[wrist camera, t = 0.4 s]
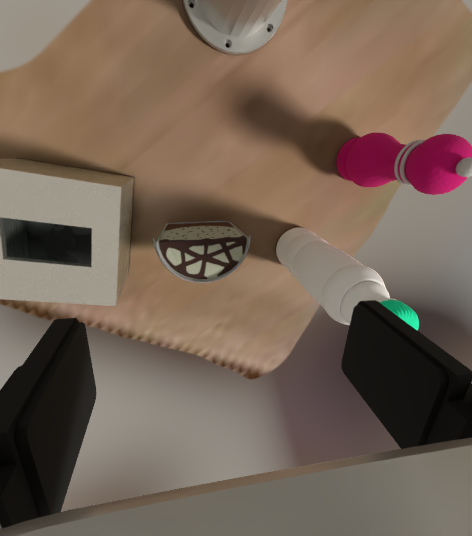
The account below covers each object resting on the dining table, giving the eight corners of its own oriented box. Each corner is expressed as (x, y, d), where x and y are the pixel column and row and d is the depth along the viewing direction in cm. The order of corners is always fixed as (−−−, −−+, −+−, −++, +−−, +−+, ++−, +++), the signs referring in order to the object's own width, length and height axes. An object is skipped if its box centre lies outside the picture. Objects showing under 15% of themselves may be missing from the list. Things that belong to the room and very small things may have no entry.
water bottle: (316, 259, 50) (432, 351, 28) (278, 271, 50) (365, 374, 27) (312, 221, 48) (437, 288, 25) (271, 232, 47) (361, 312, 24)
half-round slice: (160, 262, 45) (156, 290, 36) (156, 223, 43) (151, 243, 34) (237, 257, 47) (252, 283, 38) (238, 220, 45) (254, 238, 36)
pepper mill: (384, 149, 45) (524, 150, 27) (358, 191, 47) (472, 219, 29) (350, 124, 43) (479, 107, 25) (324, 170, 45) (426, 185, 27)
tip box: (17, 157, 37) (-42, 161, 27) (134, 177, 40) (121, 186, 30) (25, 261, 41) (-23, 297, 31) (129, 270, 45) (116, 306, 35)
